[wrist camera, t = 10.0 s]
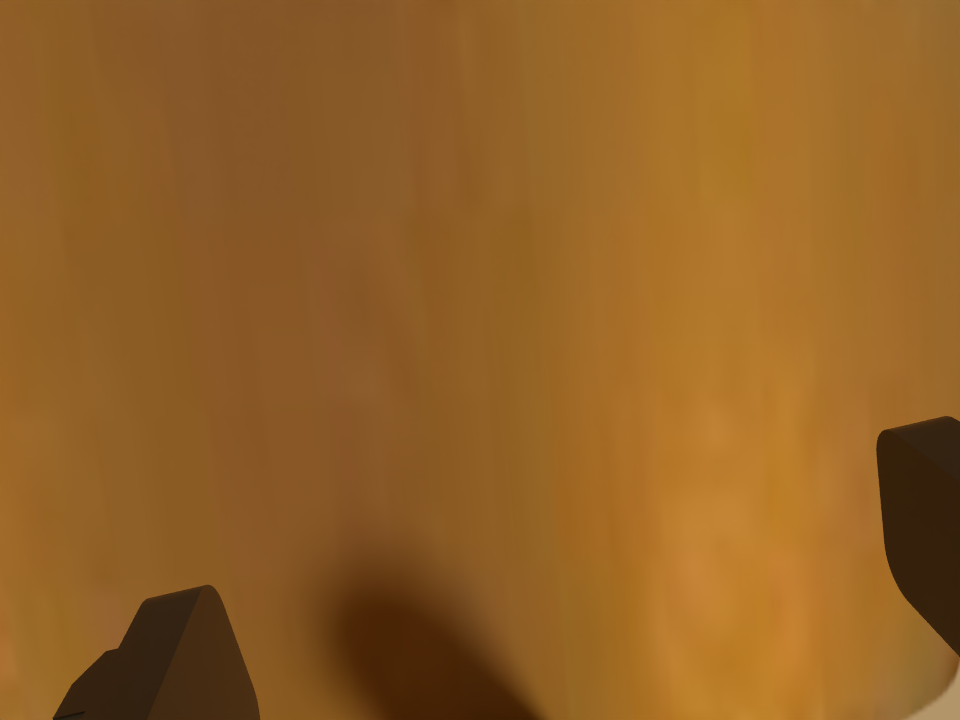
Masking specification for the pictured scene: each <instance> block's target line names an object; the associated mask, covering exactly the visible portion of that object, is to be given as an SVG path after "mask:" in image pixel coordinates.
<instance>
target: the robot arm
mask: <svg viewBox="0 0 960 720" xmlns="http://www.w3.org/2000/svg"><path fill="white" fill-rule="evenodd" d="M876 451H877V464H878V476H879V487H880V498H881V510H882V521H883V532H884V543H885V551H886V556H887V560H888V563H889V567H890V569H891V572H892V575H893V577H894V579H895V581H896V583H897V585H898V587H899V589H900V591H901V592H902V594H903V595H904V597H905V598H906V599H907V601H908V602H909V603H910V604H911V605H912V606H913V607H914V608H915V609H916V610H917V611H918V612H919V614H920V615H921V616H922V617H923V618H924V619H925V620H926V621H927V622H928V623H929V624H930V625H931V626H932V628H933V629H934V630H935V631H936V632H937V633H938V634H939V635H940V636H941V637H942V638H943V639H944V640H945V642H946V643H947V644H948V645H949V646H950V647H951V648H952V649H953V650H954V651H955V652H956V653H957V654H958V655H959V657H960V422H959V421H958V420H956V419H954V418H952V417H949V416H944V417H939V418H935V419H931V420H926V421H922V422H918V423H913V424H909V425H905V426H900V427H896V428H892V429H887V430H884V431H882V432H881V433H880V435H879V437H878V440H877V448H876ZM53 720H260V715H259V708H258V703H257V698H256V694H255V691H254V688H253V685H252V682H251V679H250V677H249V674H248V671H247V668H246V666H245V663H244V660H243V657H242V655H241V652H240V649H239V646H238V643H237V641H236V638H235V635H234V632H233V630H232V627H231V624H230V621H229V619H228V616H227V613H226V610H225V607H224V605H223V602H222V600H221V598H220V596H219V594H218V592H217V591H216V589H215V588H214V587H212V586H211V585H204V586H200V587H196V588H191V589H187V590H183V591H178V592H174V593H170V594H165V595H161V596H157V597H152V598H148V599H146V600H145V601H144V602H143V603H142V604H141V606H140V608H139V610H138V612H137V614H136V615H135V617H134V619H133V621H132V623H131V625H130V627H129V629H128V631H127V633H126V635H125V637H124V638H123V640H122V642H121V644H120V646H119V648H118V649H114V650H109V651H106V652H105V653H104V654H103V655H102V656H101V657H100V658H99V659H98V660H97V661H96V662H95V663H93V664H92V665H91V666H90V667H89V668H88V669H87V670H86V671H85V672H84V673H83V674H82V675H81V676H80V677H79V678H78V679H77V680H76V681H75V682H74V683H73V684H72V685H71V687H70V689H69V691H68V692H67V694H66V696H65V698H64V699H63V701H62V703H61V705H60V707H59V708H58V710H57V712H56V714H55V715H54V717H53Z"/></svg>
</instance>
